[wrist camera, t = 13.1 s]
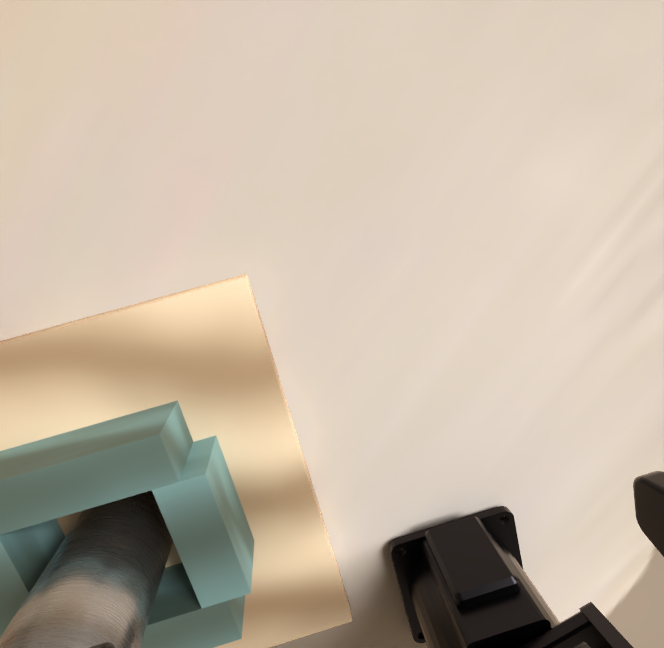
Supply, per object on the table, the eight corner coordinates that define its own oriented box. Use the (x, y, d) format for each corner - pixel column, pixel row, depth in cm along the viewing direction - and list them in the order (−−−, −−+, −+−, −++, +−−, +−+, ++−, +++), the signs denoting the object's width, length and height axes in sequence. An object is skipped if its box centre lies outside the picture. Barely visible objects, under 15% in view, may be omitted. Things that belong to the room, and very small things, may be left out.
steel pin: (190, 544, 20) (114, 841, 11) (103, 570, 20) (-54, 898, 11) (159, 469, 19) (43, 725, 10) (67, 496, 19) (-144, 786, 9)
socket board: (349, 604, 23) (363, 681, 20) (45, 700, 23) (-2, 800, 19) (246, 273, 19) (239, 289, 15) (-141, 379, 18) (-255, 424, 14)
